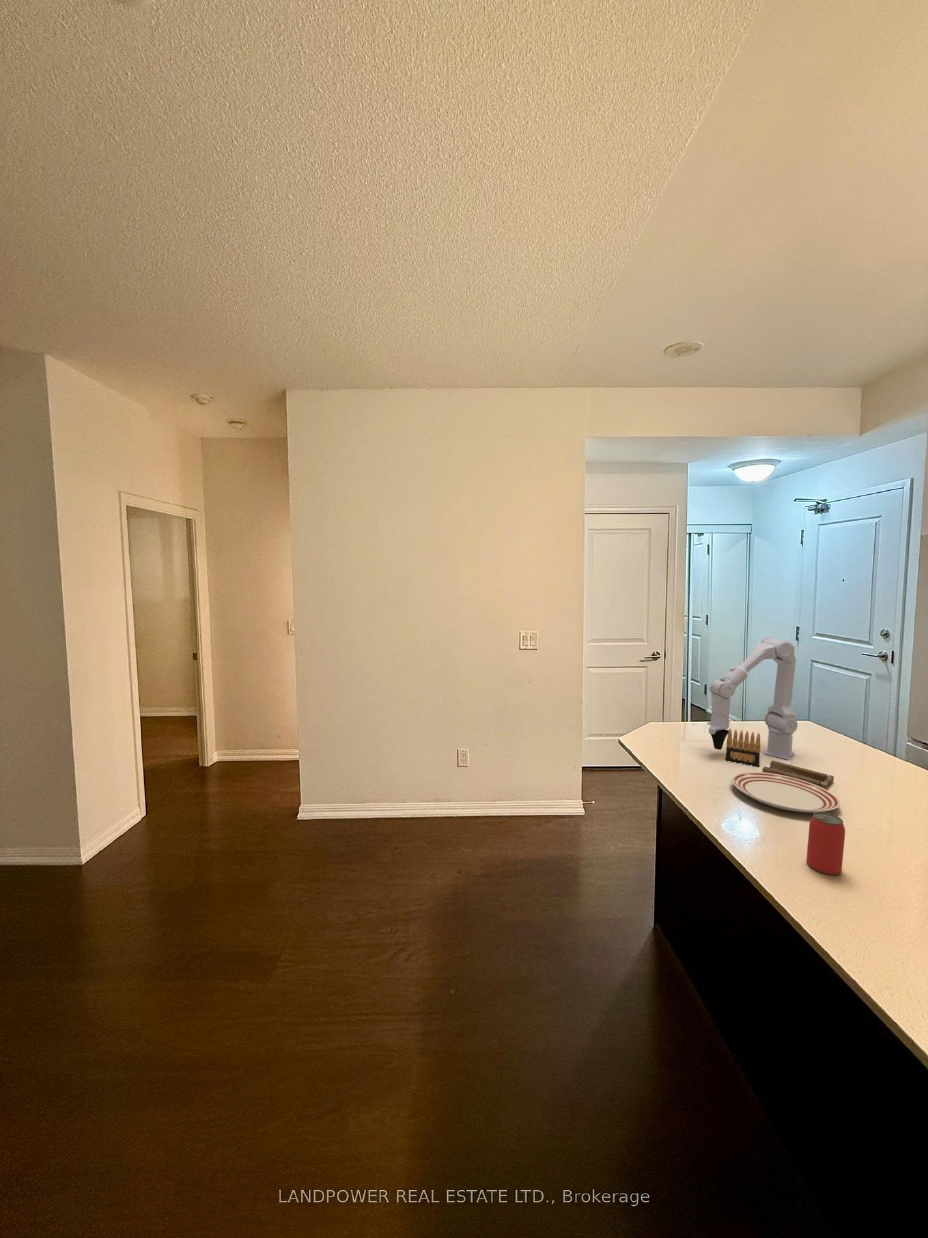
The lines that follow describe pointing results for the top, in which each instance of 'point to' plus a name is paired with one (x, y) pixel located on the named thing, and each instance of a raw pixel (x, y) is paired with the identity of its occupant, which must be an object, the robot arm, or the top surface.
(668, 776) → the top surface
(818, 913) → the top surface
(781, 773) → the guide rails
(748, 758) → the ammunition clip
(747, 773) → the dinner plate
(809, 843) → the beer can
